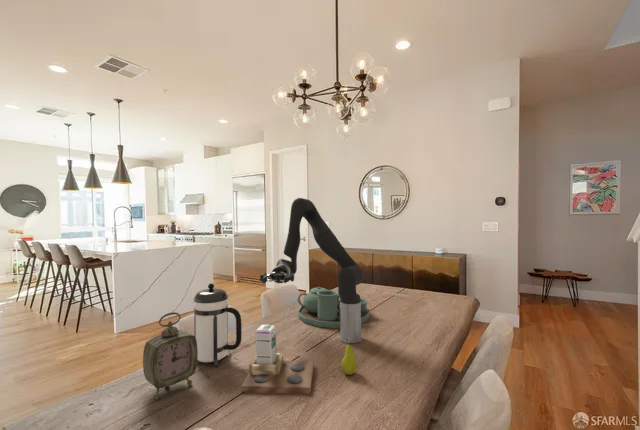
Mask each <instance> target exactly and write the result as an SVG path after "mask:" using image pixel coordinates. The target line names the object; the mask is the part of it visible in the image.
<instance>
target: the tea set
mask: <svg viewBox="0 0 640 430" xmlns="http://www.w3.org/2000/svg"><path fill="white" fill-rule="evenodd" d="M302 296H304V297H303V303H302V302H301V297H302ZM297 302H298V304H299V305H300V306H299V309H298V310H297V317H298V319H300V321H302V322H303V323H305V324H307V325H311V326H315V327H317V328H327V329H328V328H331V329H340V297H339V293H338V291H337V290H334V289H327V288H325V287H321V286H317V287H312V288H311V289H309V292H308V293H306V292H301V293H300V294H298V297H297ZM368 302H369V301H368V300H366V299H364V298H361V325H362V324H364V323H366V322H367V321H368V319H369V318H370V315H371V310H370V309H369V308H367V307H368V306H367V305H368Z"/></svg>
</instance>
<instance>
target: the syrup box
mask: <svg viewBox="0 0 640 430" xmlns="http://www.w3.org/2000/svg"><path fill="white" fill-rule="evenodd" d="M276 353H277V328H276V325H275V324H261V325H260V326H259V327H258V328H257V329H256V330H255V354H256V364H265V365H276V363H277V362H276Z"/></svg>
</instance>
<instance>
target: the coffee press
mask: <svg viewBox="0 0 640 430" xmlns="http://www.w3.org/2000/svg"><path fill="white" fill-rule="evenodd" d="M228 299H229V295H228V294H227V291H226V290H224V289H222V288H217V287H215V285H214V284H213V283H212V282H211V283H208V284H207V288H206V289H202V290H200V291H199V290H198V292H197V293H196V294H195V296H194V297H193V301H192V302H193V304H194V306H193V328H194V330H193V333H194V334H193V335H194V336H195V338H196V341H197V350H198V357H197V363H198V362H200V363H212V364H213V368H218V367H219V363H218V361H220V360H222V359H223V358H225V357H226V356H227V357H231V355H232V353H231V352H230V351H234V350H236V349H238V348H239V347H240V345H241V343H242V316H241V314H240V312H239V310H237V309H236V308H234V307H231V306H230V307H229V305H228ZM229 313H231V314H232V315H234V318H235V332H236V333H235V335H236V337H235V338H236V339H235V343H234V344H229V336H228V335H229V332H228V331H229V329H228V327H229V325H228V324H229V323H228V322H229V318H228V317H229V315H228V314H229ZM228 353H229V354H228Z"/></svg>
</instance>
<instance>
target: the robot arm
mask: <svg viewBox="0 0 640 430" xmlns="http://www.w3.org/2000/svg"><path fill="white" fill-rule="evenodd" d="M303 218H304V219H305V220H306V222H307V223H308V225H309V226H310V227H311V230H312V234H313V238H314V241H315V242H316V244H317V245H318V247H319V249H320V250H321V251H322V252H323V253H324V254H325V255H327V256H328V257H329V258H331V259H332V260H333V261H335V262H336V263H337V264H338V266H340V269H339V271H338V274H337V290H338V291H337V292H338V294H339V300H340V328H339V333H340V334H339V335H340V337H339V338H340V341H341V342H343V343H346V344H348V343H349V344H357V343H361V342H362V324H361V299H362V298H361V295H360V294H359V293H357V286H358V285H360V284H361V283H363V281H364V278H365V276H364V272H363V270H362V269H361V267H360V266H359V265H358V263H357V262H356V261H355V260H354V259H353V258H352V257H351V256H350V254H349V253H348V252H347V251H346V249H345V248H344V246H343V245H342V244H341V242H340V241H339V239H338V238H337V237H336V235H335V234H334V232H333V231H332V230H331V228H330V227H329V226H328V224H327V223H326V222H325V221H324V219H323V218H322V216H321V215H320V213H319V211H318V209H317V207H316V206H315V204H314V203H313V201H311V200H310V199H307V198H303V197H297V198H295V199H294V200H293V201H292V204H291V207H290V215H289V224H288V232H287V237H286V241H285V245H284V249H283V254H284V255H285V256H286V257H288V258H290V260H287V259H285V258H280V259H279V260H278V261H277V263H276V265H275V267H274V268H273V269H272V271H271V272H269V273H267V272H263V273H261V274H260V275H259V281H260V282H262V284H266V283H267V282H270V283H271V282H274V283H276V284H287V283H289V282H294V281H295V274H296V273H297V269H298V268H297V267H298V266H297V265H298V264H297V263H298V262H297V261H298V260H297V258H298V252H299V249H300V245H301V223H302V219H303ZM346 339H347V340H348V342H347V340H346Z"/></svg>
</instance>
